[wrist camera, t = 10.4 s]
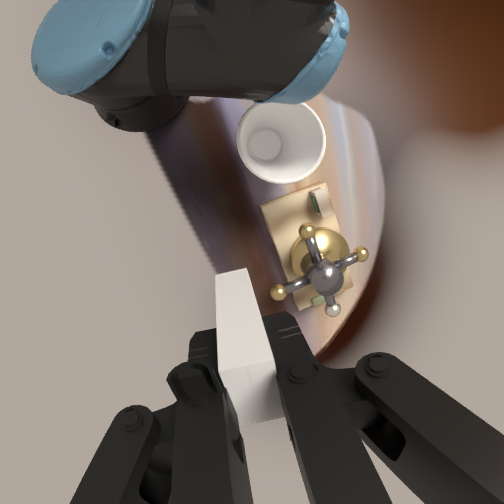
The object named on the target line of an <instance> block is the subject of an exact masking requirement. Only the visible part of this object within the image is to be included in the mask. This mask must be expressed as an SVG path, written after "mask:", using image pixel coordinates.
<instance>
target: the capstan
mask: <svg viewBox="0 0 504 504" xmlns="http://www.w3.org/2000/svg"><path fill="white" fill-rule="evenodd" d="M298 232H299V235H300V236H299V237H298V238H297V239H296V241H295V242H294V244H293V246H292V249H291V252H290V265H291V268H292V270H293V272H294V274H295V275H296V276H297V279H295V280H293V281H291V282H288V283H286V284H284V285H281V284H277V285H274V286H273V287H272V288H271V291H270V294H271V297H272V298H273V299H274V300H276V301H281V300H283V299H284V298H285V297H286V295H287V294H289V293H292V292H294V291H296V290H298V289H301V288H303V287H305V286H309V287H312V288H314V289H315V290H316V291H317V293H318V294H320V295H322V296H324V299H325V302H326V306H325V313H326V314H327V315H328V316H330V317H336V316H337V315H339V313H340V311H341V306H340V304H339V303H338V302H336V301H335V298H334V294H336V293H337V292H338V291H339V290H340V289H341V288H342V286H343V283H344V275H343V274H344V272H345V271H346V269H347V267H348V266H349V265H351V264H353V263H355V262H357V261H358V262H364V261H366V260H367V258H368V256H369V252H368V250H367V249H366V248H365V247H363V246H359V247H357V248H356V249H355V250H354V252H353V253H351V254H350V251H349V247H348V244H347V242H346V240H345V239H344V238H343V237H342V236H341V235H340V234H338V233H337V232H335V231H334V230H332V229H329V228H326V227H314V225H313V224H311V223H308V222H306V223H303V224H302V225H301V226H300V227H299V230H298Z"/></svg>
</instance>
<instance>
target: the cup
mask: <svg viewBox="0 0 504 504" xmlns="http://www.w3.org/2000/svg"><path fill="white" fill-rule="evenodd" d="M236 143H237V149H238V152H239V155H240V157H241V159H242V161H243V163H244V164H245V166H246V167H247V168H248V169H249V170H250V171H251V172H252V173H253V174H254V175H256V176H257V177H259V178H260V179H263V180H265V181H267V182H270V183H275V184H291V183H295V182H298V181H301V180H303V179H305V178H306V177H308V176H309V175H310V174H312V173H313V172H314V171H315V170H316V168H317V167H318V166H319V164H320V163H321V160H322V158H323V156H324V152H325V148H326V137H325V131H324V128H323V125H322V123H321V121H320V119H319V118H318V116H317V115H316V113H315V112H314V111H313V110H312V109H311V108H310V107H309V106H307V105H306V104H305V103H300V104H295V105H291V104H282V103H273V102H270V103H264V104H260V103H255V104H253V105H252V106H251V107H250V108H249V109H248V110H247V111H246V112H245V113H244V115H243V116H242V118H241V120H240V122H239V124H238V128H237V133H236Z"/></svg>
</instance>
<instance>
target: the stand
mask: <svg viewBox="0 0 504 504" xmlns="http://www.w3.org/2000/svg"><path fill="white" fill-rule="evenodd" d="M259 206H260V209H261V211H262V214H263V217H264V219H265V222H266V225H267V227H268V230H269V233H270V235H271V238H272V241H273V243H274V246H275V249H276V251H277V254H278V257H279V259H280V262H281V265H282V268H283V270H284V273H285V276H286V279H287V281H288V282H291V281H293V280H295V279H297V276H296V275H295V274H294V272H293V270H292V268H291V265H290V252H291V249H292V246H293V244H294V242H295V241H296V239H297V238H298V237H299V236H300V235H299V232H298V230H299V227H300V226H301V225H302V224H303V223H306V222H308V223H311V224H313V225H314V227H326V228H329V229H332V230H334V231H335V232H337V233H338V234H340V230H339V226H338V223H337V219H336V216H335V212H334V209H333V205H332V202H331V199H330V195H329V192H328V189H327V186H326V183H322V182H318V183H315V184H313V185H310V186H307V187H305V188H302V189H299V190H297V191H294V192H291V193H289V194H286V195H283V196H281V197H278V198H276V199H273V200H271V201H268V202H265V203H263V204H260V205H259ZM340 235H341V234H340ZM343 275H344V283H343V286H342V288H341V289H340V290H339V291H338V292H337V293H336V294H339V293H341V292H343V291H345V290H347V289H349V288H352V287H353V283H352V279H351V274H350V270H349V266H348V267H347V269H346V271H345V272H344V274H343ZM336 294H334V295H336ZM292 295H293V298H294V301H295V304H296V305H297V307H298V309H299V311H300V310H302V309H305V308H307V307H309V306H312V305H314V306H317V305H319V304H321V303H324V302H325V299H324V296H322V295H320V294H318V293H317V291H316V290H315V289H314V288H312V287H309V286H305V287H303V288H301V289H298V290H296V291H294V292H292Z"/></svg>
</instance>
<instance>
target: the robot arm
mask: <svg viewBox="0 0 504 504" xmlns="http://www.w3.org/2000/svg"><path fill="white" fill-rule="evenodd" d="M348 33H349V19H348V15H347V12H346V11H345V10H344V8H342V7H341V6H340V5H339V4H338V3H337V2H335V1H334V0H59V1H58V2H57V3H56V4H54V5H53V7H52V8H51V9H50V10H49V11H48V13H47V14H46V16H45V17H44V19H43V21H42V22H41V24H40V26H39V28H38V30H37V33H36V35H35V38H34V41H33V45H32V51H31V63H32V67H33V71H34V72H35V75H36V76H37V77H38V79H39V80H40V81H41V82H42V83H43V84H45V85H46V86H48V87H49V88H51V89H52V90H53V91H55V92H57V93H60V94H62V95H63V94H66V95H69V96H71V97H74V98H77V99H79V100H82V101H85V102H87V103H90V104H93V105H94V106H95V109H96V111H97V112H98V114H99V116H100V117H101V118H102V119H103V120H104V121H105V122H107V123H108V124H109V125H111V126H113V127H115V128H118V129H121V130H124V131H129V132H143V131H148V130H152V129H155V128H157V127H160V126H161V125H163V124H165V123H167V122H168V121H170V120H171V119H172V118H173V117H175V116H176V115H177V114H178V113H179V112H180V111H181V109H182V108H183V107H184V105H185V104H186V102H187V101H188V99H189V97H190V96H205V97H222V98H235V99H246V100H253V101H254V102H256V103H260V104H264V103H270V102H273V103H282V104H291V105H295V104H300V103H304V102H306V101H309V100H311V99H312V98H314V97H315V96H316V95H318V94H319V93H320V92H321V91H322V90H323V89H324V88H325V86H326V85H327V84H328V82H329V81H330V80H331V78H332V76H333V75H334V73H335V71H336V70H337V68H338V66H339V64H340V62H341V60H342V57H343V54H344V52H345V48H346V44H347V43H346V41H345V40H344V39H345V38H346V36H347V35H348ZM215 281H216V324H217V328H214V329H209V330H204V331H199V332H196V333H195V334H194V335H193V337H192V338H191V340H190V344H189V354H188V358H189V359H188V362H184V363H181V364H180V365H178V366H176V367H175V368H174V369H173V370H172V371H171V372H170V373H169V374H168V377H167V379H166V380H167V382H168V384H169V386H170V388H171V390H172V392H173V393H174V395H175V397H176V399H177V401H176V402H175V403H174V404H172V405H170V406H168V407H166V408H163V409H160V410H157V411H154V412H151V411H150V410H149V409H148V408H147V407H145V406H142V405H132V406H129V407H126V408H124V409H123V410H121V411H120V412H119V413H118V414H117V415H116V417H115V418H114V420H113V421H112V423H111V425H110V427H109V429H108V431H107V433H106V434H105V436H104V438H103V440H102V442H101V444H100V445H99V447H98V449H97V451H96V453H95V455H94V457H93V459H92V461H91V463H90V464H89V466H88V469H87V470H86V472H85V474H84V476H83V478H82V480H81V482H80V484H79V486H78V488H77V490H76V492H75V494H74V496H73V498H72V500H71V502H70V504H253V498H252V492H251V486H250V480H249V474H248V468H247V461H246V455H245V448H244V442H243V438H242V436H241V433H240V430H239V424H240V426H245V425H250V424H254V423H260V422H264V421H269V420H273V419H278V418H281V417H286V421H287V426H288V431H289V435H290V440H291V441H292V444H293V448H294V451H295V455H296V458H297V461H298V465H299V468H300V472H301V475H302V479H303V482H304V485H305V489H306V492H307V495H308V499H309V501H310V504H392V502H391V500H390V497H389V495H388V493H387V491H386V489H385V487H384V485H383V483H382V481H381V479H380V477H379V475H378V473H377V471H376V469H375V466H374V465H373V463H372V460H371V458H370V456H369V454H368V452H367V450H366V448H365V446H364V444H363V442H362V440H363V441H364V442H365V444H366V445H367V446H368V447H369V448H370V449H371V450H372V451H373V452H374V453H375V454H376V455H377V456H378V457H379V458H380V459H381V460H382V461H383V462H384V463H385V464H386V466H387V467H388V468H390V470H391V471H392V472H393V473H394V474H395V475H396V476H397V477H398V478H399V479H400V480H401V481H402V482H403V483H404V484H405V485H406V486H407V487H408V488H409V489H410V490H411V491H412V492H413V493H414V494H415V495H416V496H418V497H419V498H420V499H421V500H422V501H423V502H424V503H425V504H504V435H503V434H501V433H500V432H499V431H497V430H496V429H495V428H493V427H492V426H490V425H489V424H487V423H486V422H485V421H484V420H482V419H481V418H479V417H478V416H477V415H475V414H474V413H473V412H471V411H470V410H468V409H467V408H466V407H464V406H463V405H461V404H460V403H459V402H457V401H456V400H454V399H453V398H452V397H450V396H449V395H448V394H446V393H445V392H444V391H442V390H441V389H439V388H438V387H437V386H435V385H434V384H432V383H431V382H430V381H428V380H427V379H426V378H424V377H423V376H421V375H420V374H419V373H417V372H416V371H415V370H413V369H412V368H410V367H409V366H408V365H406V364H405V363H403V362H402V361H400V360H399V359H398V358H397V357H395V356H393V355H391V354H389V353H383V352H376V353H370V354H368V355H366V356H363V357H362V358H361V359H360V360H359V361H358V363H357V365H356V367H355V368H345V369H333V368H327V367H325V366H323V365H322V364H321V363H320V362H318V361H316V359H315V358H314V356H313V354H312V352H311V350H310V348H309V346H308V344H307V342H306V340H305V338H304V336H303V334H302V332H301V330H300V327H299V326H298V323H297V321H296V319H295V317H294V316H292V315H291V314H289V313H287V312H286V311H285V312H281V313H276V314H272V315H268V316H264V317H261V315H260V311H259V308H258V305H257V301H256V298H255V295H254V291H253V288H252V285H251V281H250V278H249V274H248V271H247V268H244V269H240V270H235V271H231V272H226V273H222V274H218V275H215ZM238 421H239V424H238ZM361 439H362V440H361Z"/></svg>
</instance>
